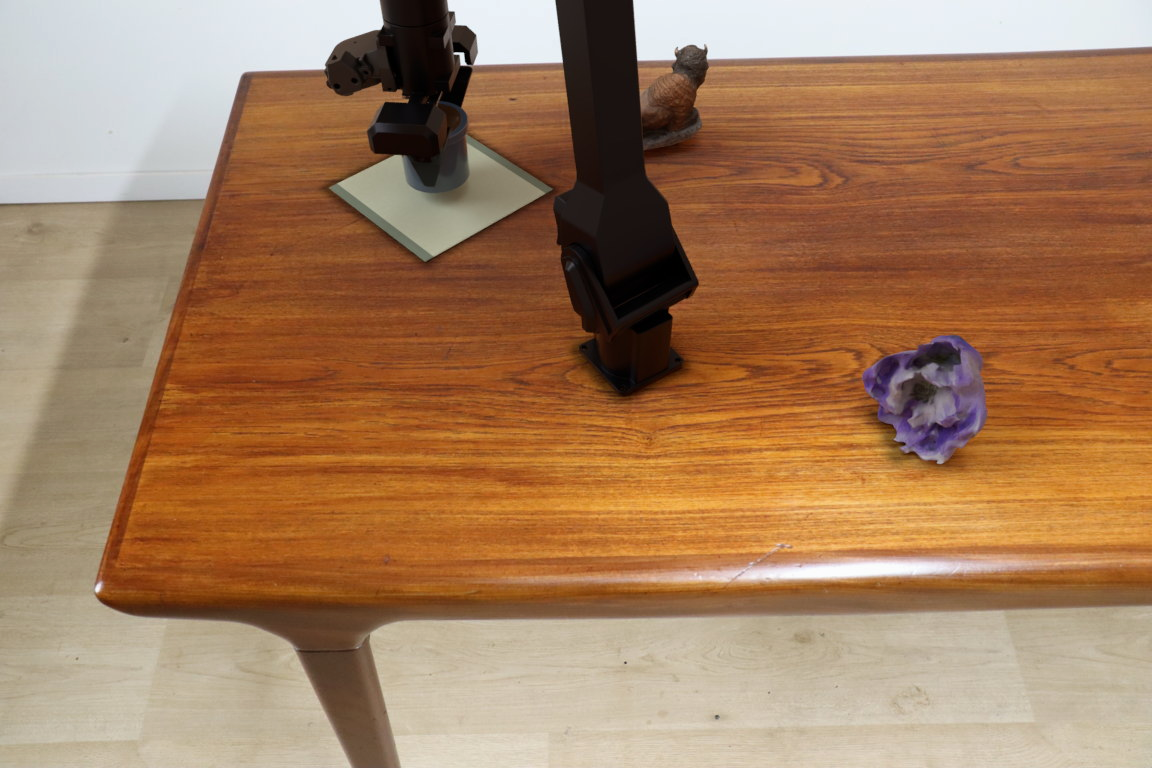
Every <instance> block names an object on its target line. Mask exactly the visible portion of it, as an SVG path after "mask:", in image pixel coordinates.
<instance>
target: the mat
mask: <svg viewBox="0 0 1152 768" xmlns="http://www.w3.org/2000/svg"><path fill="white" fill-rule="evenodd" d="M466 142H467V151H468V160H469V168H470V175H469V177H468V179H467V180H466V182H465V183H464V184H462V185H461V186H460V187H458V188H456V189H453V190H451V191H447V192H442V193H425V192H421V191H418V190H415V189H413V188H412V187H411V186H409V185H408V183H407V182H406V179H405V174H404V169H403V163H402V157H401V155H391V156H389V157H388V158H386V159H384V160H382V161H380V162H378V163H376V164H374V165H372V166H369V167H368V168H366V169H363V170H361V171H360V172H358V173H355V174H354V175H352V176H349V177H347V178H345V179H344V180H342V181H339V182H337V183H335V184H333V185H331V186H329V187H328V189H329V190H330V191H332V193H334V194H336V195H337V196H338V197H339V198H341V199H342V200H343V201H344V202H346V203H347V204H348V205H350V206H351V207H352V208H354V209H355V210H357V211H358V213H360V214H362V215H363V216H364V217H366V218H367V219H368V220H369V221H371V222H372V223H373V224H375V225H376V226H377V227H378V228H380V229H381V230H383V231H384V232H385V233H386V234H388V235H389V236H390V237H392V238H393V239H394V240H396V241H397V243H399V244H401V246H403V247H405V248H406V249H407V250H409V251H410V252H411V253H412V254H414V256H416V257H417V258H419V259H420V260H421V261H423V262H424V263H426V262H428V261H430V260H432V259H434V258H435V257H437V256H439V255H440V254H442V253H444V252H446V251H448V250H449V249H451V248H453V247H455V246H456V245H458V244H460V243H462V242H464V241H465V240H467V239H469V238H471V237H473V236H474V235H476V234H478V233H479V232H482V231H483V230H485V229H486V228H488V227H490V226H492V225H494V224H495V223H497V222H499V221H501V220H502V219H504V218H506V217H507V216H510V215H511V214H513V213H514V212H516V211H519V210H520V209H522V208H524V207H525V206H527V205H529V204H531V203H533V202H534V201H536V200H537V199H540V198H541V197H544V195H546V194H548V193H550V192H552V191H553V190H554V189H553V188H552V187H550V186H549V185H547V184H546V183H544V182H543V181H541V180H540V179H537V178H536V177H535V176H533V175H532V174H530V173H528V172H526V171H525V170H524V169H522V168H520V167H519V166H518V165H516V164H514V163H513V162H511V161H509V160H508V159H506V158H505V157H503V156H502V155H500V154H498V153H497V152H495V151H494V150H492V149H491V148H489V147H487V146H485V145H484V144H482V143H481V142H479V141H478V140H476V139H475V138H473V137H472V136H470V135H468V134H467V133H466Z"/></svg>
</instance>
